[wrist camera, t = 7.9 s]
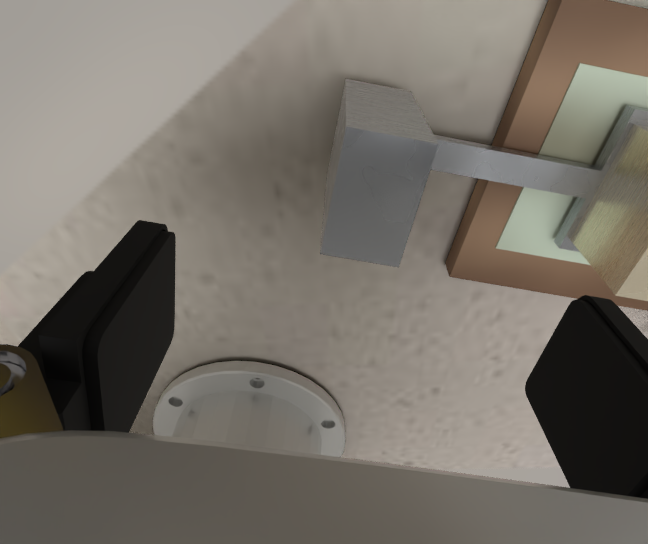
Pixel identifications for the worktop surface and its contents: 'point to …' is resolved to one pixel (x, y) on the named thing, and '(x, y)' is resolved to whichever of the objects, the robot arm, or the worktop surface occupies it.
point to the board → (555, 147)
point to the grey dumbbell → (483, 163)
